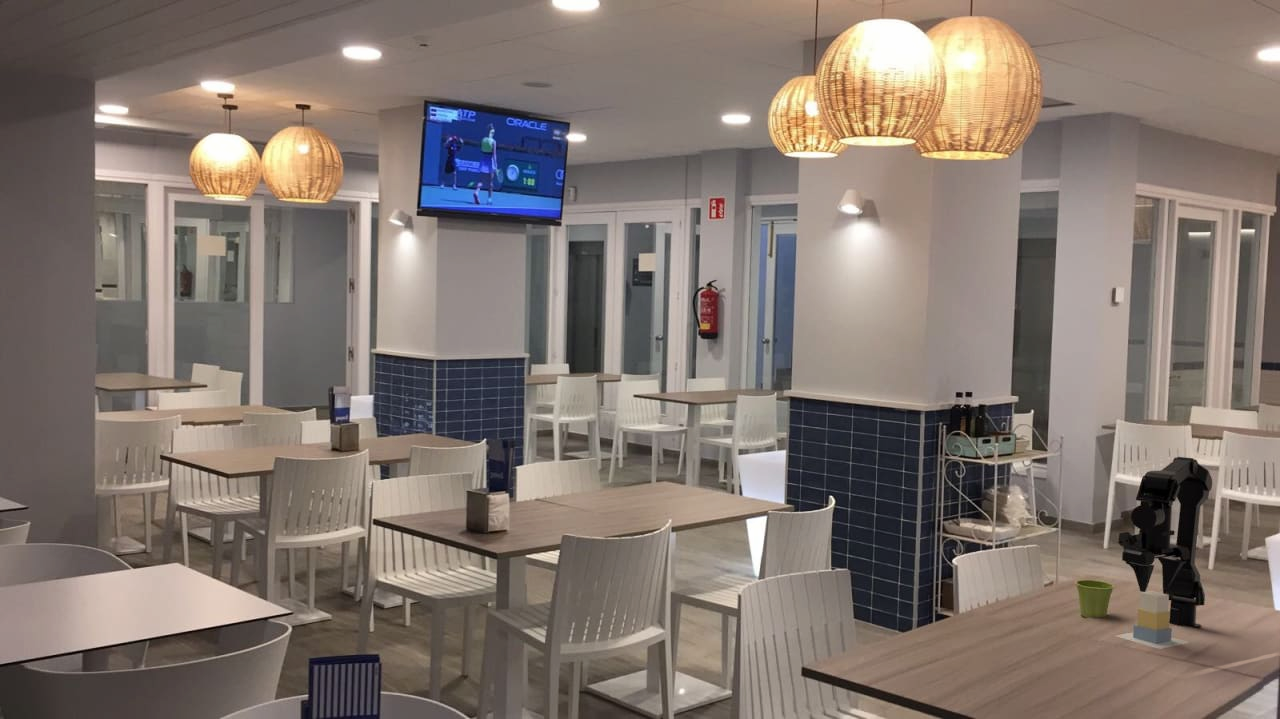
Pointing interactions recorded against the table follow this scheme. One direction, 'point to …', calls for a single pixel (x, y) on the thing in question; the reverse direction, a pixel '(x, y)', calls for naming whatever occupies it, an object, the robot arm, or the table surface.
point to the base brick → (1152, 634)
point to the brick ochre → (1153, 620)
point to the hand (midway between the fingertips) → (1154, 589)
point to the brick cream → (1154, 602)
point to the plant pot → (1094, 597)
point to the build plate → (1160, 645)
